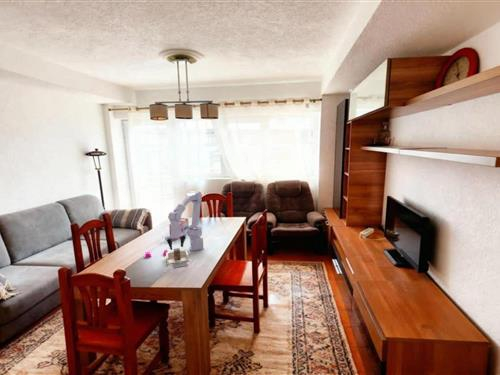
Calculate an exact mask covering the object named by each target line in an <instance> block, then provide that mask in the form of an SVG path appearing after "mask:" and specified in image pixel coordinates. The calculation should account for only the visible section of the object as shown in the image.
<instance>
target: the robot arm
mask: <svg viewBox="0 0 500 375" xmlns="http://www.w3.org/2000/svg"><path fill="white" fill-rule="evenodd" d="M202 198H203V194H202V192H201V191H196V190H195V191H194V190H193V191H192V190H188V191H187V192H186V194H185V198H184V199H183V201H182V202H181V203H178V204H177V206H176V207H175V208H174V209H173V210H172V211H170V212H169V214H168V216H167V218H168V220H169V222H170V224H171V235H170V234H169V235H167V236H164V240H165V241H166V242H167V244H168V247H169V250H171V251H172V250H173V240H175V239H174V238H178V237H180V238H179V241H180V247H181V248H184V244H185V243H184V242H185V241H186V239H187V237H189V242H190V244H189V250H190V251H191V252H192V251H193V252H194V251H199V250H204V238H203V232H202V227H201V225H200V216H201V215H200V214H201V204H202ZM190 202H191V203H192V204H193V208H192V218H191V224H190V225H189V229H188V232H187V234H186V233H180V224H179V220H180V219H181V218H182V215H183V213H184V212H185V211H186V207H187V206H188V205H189V203H190Z"/></svg>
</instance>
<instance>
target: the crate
mask: <svg viewBox="0 0 500 375" xmlns="http://www.w3.org/2000/svg"><path fill="white" fill-rule="evenodd" d="M165 256H166V257H165V259H166V260H165V261H166V264H167V265H170V264H172V265H173V263H179V262H185V261H189V253H188V251H187V249H182V250H181V249H180V258H181V260H176V261H175V260H174V251H168V252H167V253H166V255H165Z"/></svg>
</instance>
